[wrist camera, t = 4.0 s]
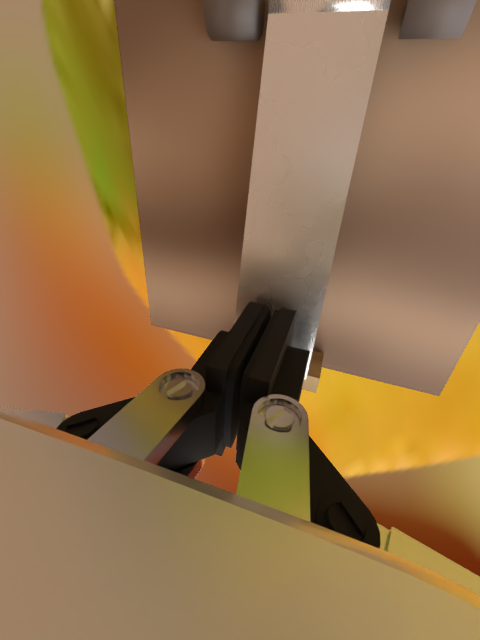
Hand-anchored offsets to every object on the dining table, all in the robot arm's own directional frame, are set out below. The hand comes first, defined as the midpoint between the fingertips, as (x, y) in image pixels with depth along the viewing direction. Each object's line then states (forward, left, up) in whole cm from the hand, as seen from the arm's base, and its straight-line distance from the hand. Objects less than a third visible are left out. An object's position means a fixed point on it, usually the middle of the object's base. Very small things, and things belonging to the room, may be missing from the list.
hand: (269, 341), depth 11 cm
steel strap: (-4, 0, -2) cm, 4 cm away
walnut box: (-4, 0, -8) cm, 9 cm away
